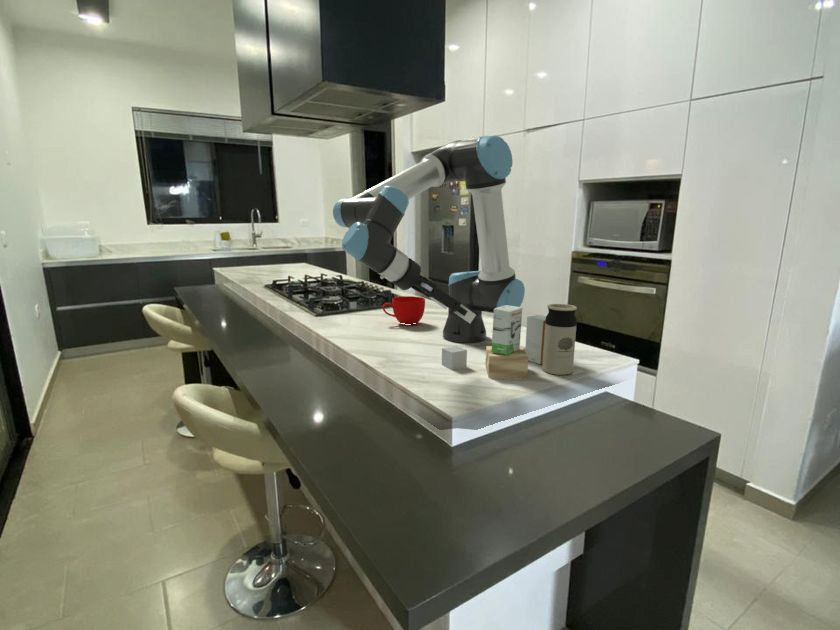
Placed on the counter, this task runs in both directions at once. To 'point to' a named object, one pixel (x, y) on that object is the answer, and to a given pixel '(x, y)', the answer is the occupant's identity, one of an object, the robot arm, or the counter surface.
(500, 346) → the ink box
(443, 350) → the grey cube
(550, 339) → the travel mug
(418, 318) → the ceramic cup
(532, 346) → the small box
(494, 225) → the robot arm
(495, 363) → the oak block
